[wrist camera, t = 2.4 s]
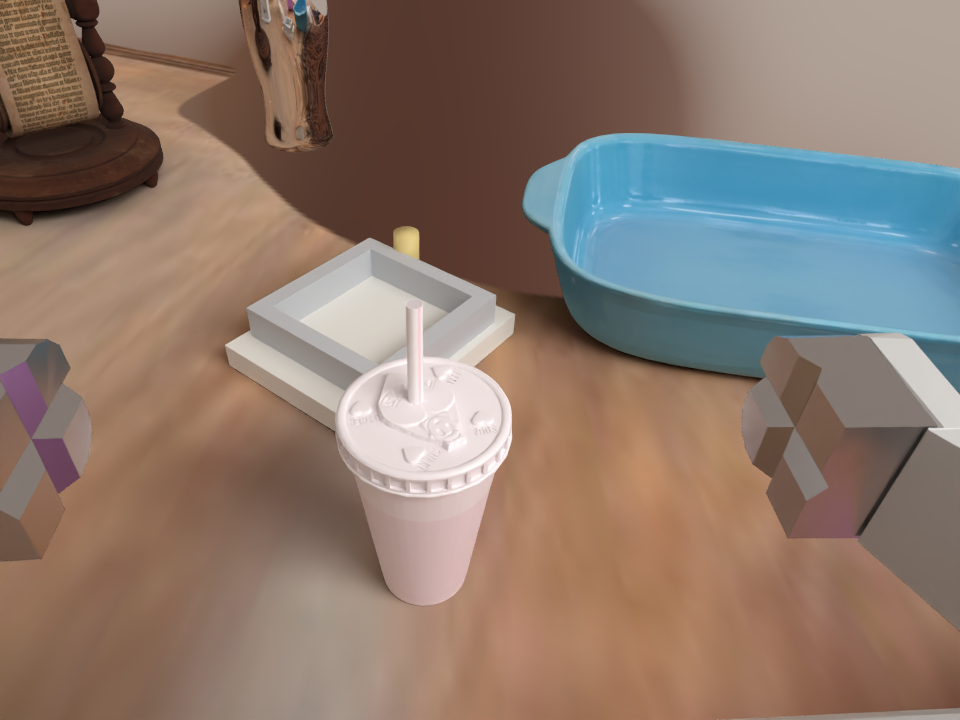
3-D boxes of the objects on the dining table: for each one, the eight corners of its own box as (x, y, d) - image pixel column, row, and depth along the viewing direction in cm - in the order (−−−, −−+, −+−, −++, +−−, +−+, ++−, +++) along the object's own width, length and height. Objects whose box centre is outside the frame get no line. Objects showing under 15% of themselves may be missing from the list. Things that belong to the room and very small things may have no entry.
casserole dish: (490, 371, 43) (498, 269, 38) (536, 199, 60) (545, 114, 55) (1165, 475, 39) (1264, 375, 34) (1009, 259, 56) (1061, 173, 51)
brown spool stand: (1, 252, 50) (-148, -86, 37) (-64, 176, 57) (-206, -124, 45) (200, 189, 58) (136, -105, 45) (120, 130, 66) (45, -135, 53)
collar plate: (229, 365, 42) (214, 301, 39) (381, 271, 50) (379, 212, 47) (370, 454, 37) (365, 388, 34) (513, 333, 45) (519, 272, 42)
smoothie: (442, 489, 35) (446, 240, 26) (527, 582, 32) (566, 329, 23) (325, 554, 32) (285, 296, 23) (404, 666, 29) (393, 410, 20)
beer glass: (297, 117, 70) (276, -60, 60) (353, 135, 67) (341, -46, 57) (243, 141, 65) (211, -47, 55) (302, 161, 62) (279, -32, 53)
